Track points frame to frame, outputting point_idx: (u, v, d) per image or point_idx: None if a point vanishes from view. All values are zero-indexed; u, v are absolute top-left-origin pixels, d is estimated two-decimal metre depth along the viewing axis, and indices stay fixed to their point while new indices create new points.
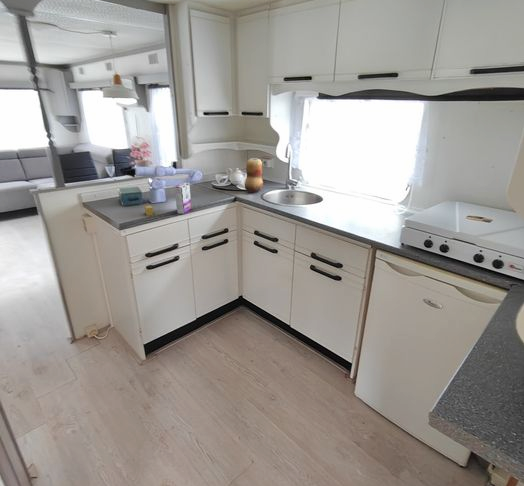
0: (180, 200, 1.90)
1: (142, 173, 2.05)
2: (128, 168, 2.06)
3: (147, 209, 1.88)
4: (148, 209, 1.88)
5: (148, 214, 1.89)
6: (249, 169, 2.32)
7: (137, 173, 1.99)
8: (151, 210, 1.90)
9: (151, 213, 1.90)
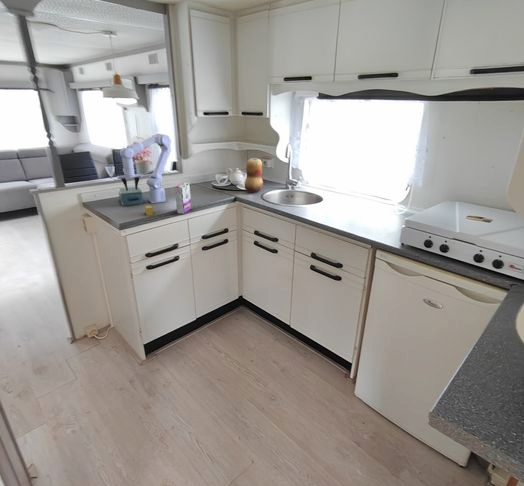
0: (180, 200, 1.90)
1: None
2: None
3: (147, 209, 1.88)
4: (148, 209, 1.88)
5: (148, 214, 1.89)
6: (249, 169, 2.32)
7: None
8: (151, 210, 1.90)
9: (151, 213, 1.90)
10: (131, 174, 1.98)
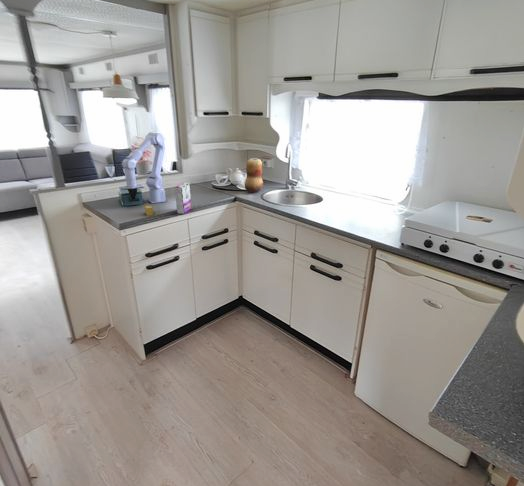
0: (180, 200, 1.90)
1: None
2: None
3: (147, 209, 1.88)
4: (148, 209, 1.88)
5: (148, 214, 1.89)
6: (249, 169, 2.32)
7: None
8: (151, 210, 1.90)
9: (151, 213, 1.90)
10: (133, 185, 1.98)
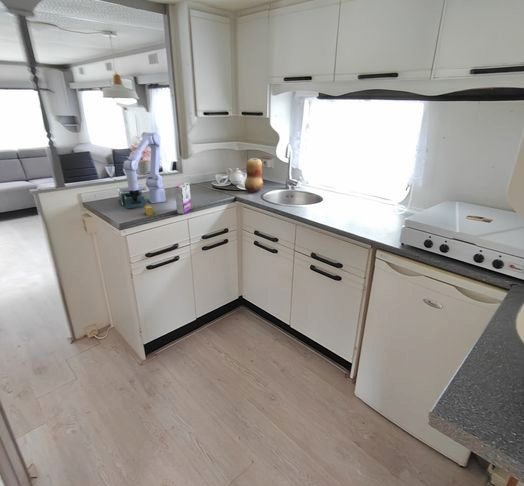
0: (180, 200, 1.90)
1: None
2: None
3: (147, 209, 1.88)
4: (148, 209, 1.88)
5: (148, 214, 1.89)
6: (249, 169, 2.32)
7: None
8: (151, 210, 1.90)
9: (151, 213, 1.90)
10: (135, 187, 1.93)
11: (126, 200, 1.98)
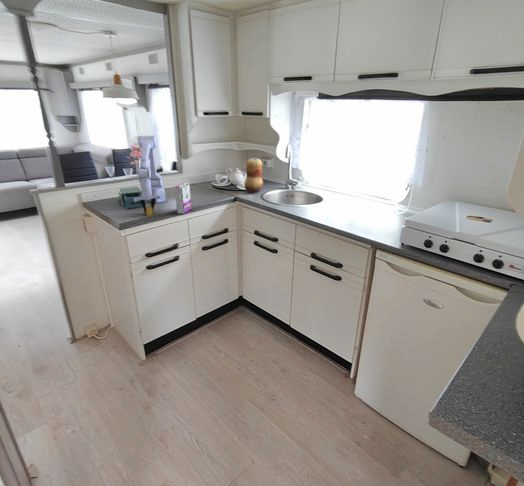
0: (180, 200, 1.90)
1: None
2: None
3: (147, 209, 1.88)
4: (148, 209, 1.88)
5: (148, 214, 1.89)
6: (249, 169, 2.32)
7: None
8: (151, 210, 1.90)
9: (151, 213, 1.90)
10: (149, 196, 1.86)
11: (126, 200, 1.98)
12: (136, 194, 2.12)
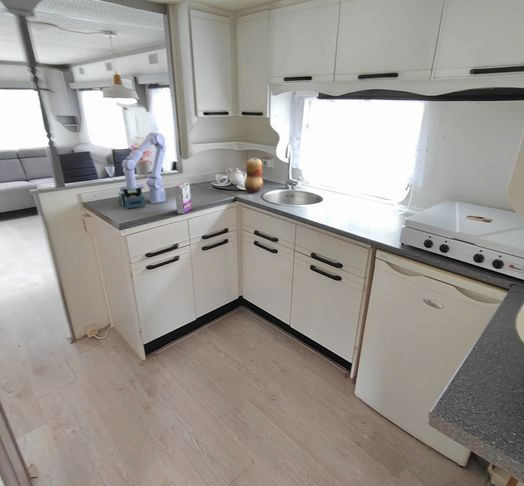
0: (180, 200, 1.90)
1: None
2: None
3: None
4: None
5: None
6: (249, 169, 2.32)
7: (143, 186, 2.05)
8: None
9: None
10: (133, 185, 1.99)
11: (126, 200, 1.98)
12: (136, 194, 2.12)
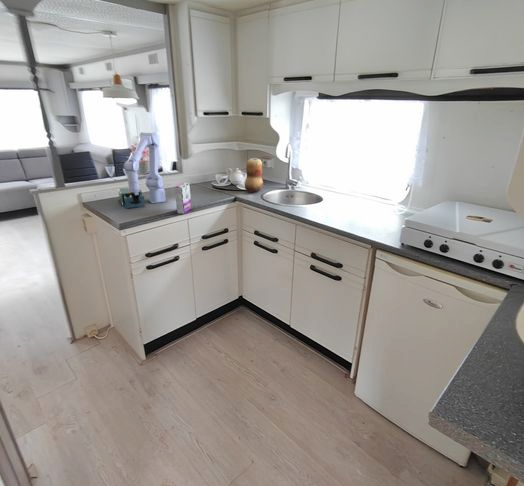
0: (180, 200, 1.90)
1: (136, 185, 1.90)
2: None
3: None
4: None
5: None
6: (249, 169, 2.32)
7: (136, 193, 1.88)
8: None
9: None
10: (129, 188, 1.91)
11: (126, 200, 1.98)
12: None
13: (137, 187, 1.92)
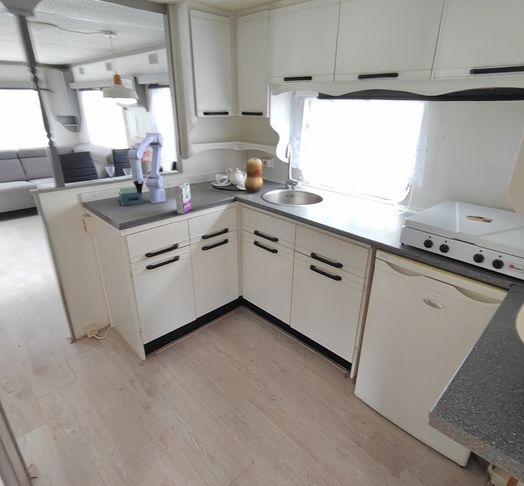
0: (180, 200, 1.90)
1: (139, 173, 1.91)
2: None
3: None
4: None
5: None
6: (249, 169, 2.32)
7: (140, 181, 1.88)
8: None
9: None
10: (132, 176, 1.91)
11: (124, 197, 2.04)
12: None
13: (140, 176, 1.92)
